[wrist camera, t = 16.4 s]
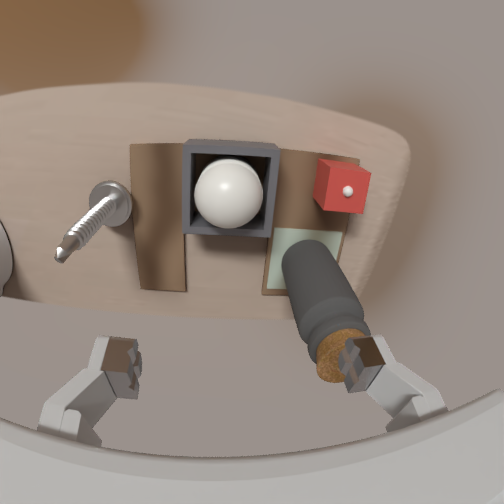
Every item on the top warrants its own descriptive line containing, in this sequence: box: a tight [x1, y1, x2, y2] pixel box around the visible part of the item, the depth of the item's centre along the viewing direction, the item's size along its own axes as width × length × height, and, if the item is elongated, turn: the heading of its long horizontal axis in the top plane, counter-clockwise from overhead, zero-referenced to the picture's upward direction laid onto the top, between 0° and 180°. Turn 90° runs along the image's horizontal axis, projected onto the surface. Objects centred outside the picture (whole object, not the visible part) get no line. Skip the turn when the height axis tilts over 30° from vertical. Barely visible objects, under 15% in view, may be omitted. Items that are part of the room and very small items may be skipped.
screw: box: [54, 180, 132, 263], centre depth 23 cm, size 13×5×5 cm
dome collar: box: [182, 139, 281, 238], centre depth 27 cm, size 8×8×4 cm
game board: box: [130, 143, 360, 295], centre depth 31 cm, size 23×17×1 cm
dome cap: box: [194, 155, 263, 228], centre depth 25 cm, size 6×6×6 cm
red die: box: [313, 159, 371, 214], centre depth 27 cm, size 4×4×4 cm
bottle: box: [281, 239, 371, 383], centre depth 26 cm, size 6×6×15 cm
